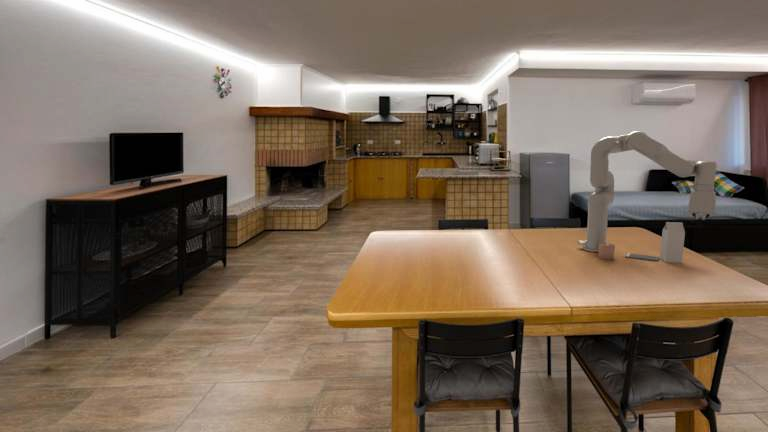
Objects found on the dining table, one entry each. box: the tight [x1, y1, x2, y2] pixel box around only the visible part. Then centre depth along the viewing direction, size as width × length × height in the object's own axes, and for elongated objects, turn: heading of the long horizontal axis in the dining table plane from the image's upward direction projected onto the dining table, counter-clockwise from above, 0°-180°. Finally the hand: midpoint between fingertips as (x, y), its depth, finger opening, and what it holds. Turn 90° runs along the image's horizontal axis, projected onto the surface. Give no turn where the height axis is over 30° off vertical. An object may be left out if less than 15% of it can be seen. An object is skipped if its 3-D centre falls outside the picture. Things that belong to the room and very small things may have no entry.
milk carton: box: [659, 221, 686, 264], centre depth 216 cm, size 7×7×19 cm
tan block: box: [597, 242, 616, 261], centre depth 223 cm, size 7×7×7 cm
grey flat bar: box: [624, 252, 660, 262], centre depth 224 cm, size 14×8×1 cm, turn 54°
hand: (699, 227), depth 209 cm, fingers closed
